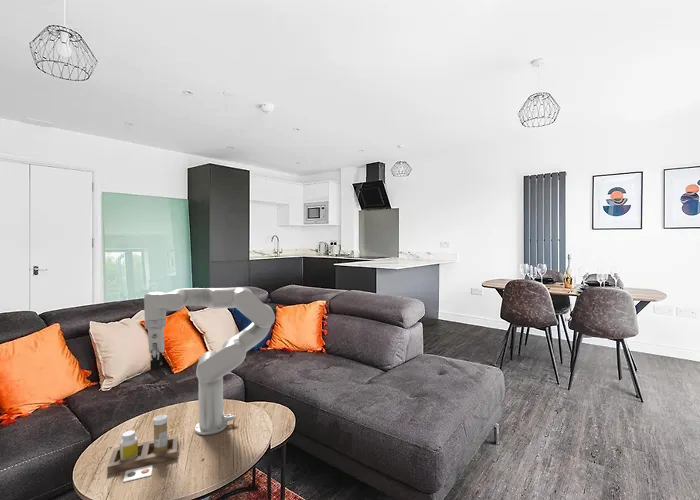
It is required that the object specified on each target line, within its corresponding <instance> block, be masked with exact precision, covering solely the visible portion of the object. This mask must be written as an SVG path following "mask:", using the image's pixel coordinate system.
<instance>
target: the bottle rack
mask: <svg viewBox="0 0 700 500" xmlns="http://www.w3.org/2000/svg"><path fill="white" fill-rule="evenodd" d="M171 446H172V449H169V450H168V451H165V452H160V453H155V454H154V453H152V454H150V451H151V450H152V451H153V450H154V439H153V440H148V441H143V442H139V443H138V454H139V453H141V454H140V456H138V457H137V458H132V459H128V460H123V461H120V460H119V461H118V458H120V446H118V447H114V448H113V450H112V452H111V455H110V459H109V461H108V464H107V466H106V472H107V473H106V474H107V475H111V474H114V473H118V472H119V473H120V472H124V471H128V470H132V469H136V468H141V467H145V466H150V465H155V464H159V463H164V462H168V461H173V460H176V459H178V449H179V448H178V446H179V435H173V436H169V437H168V436H167V448H168V447H171Z"/></svg>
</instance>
